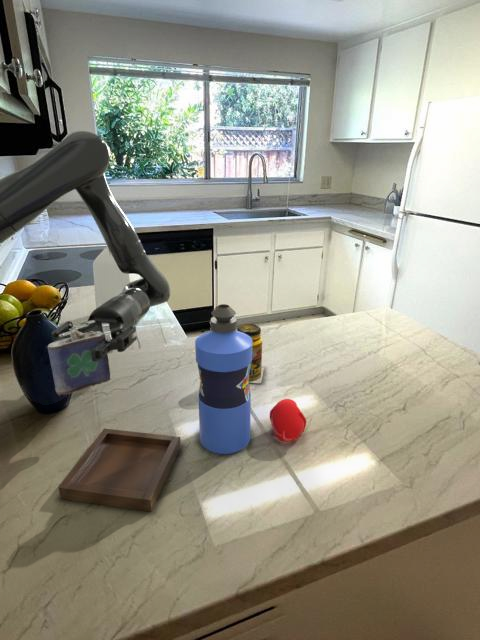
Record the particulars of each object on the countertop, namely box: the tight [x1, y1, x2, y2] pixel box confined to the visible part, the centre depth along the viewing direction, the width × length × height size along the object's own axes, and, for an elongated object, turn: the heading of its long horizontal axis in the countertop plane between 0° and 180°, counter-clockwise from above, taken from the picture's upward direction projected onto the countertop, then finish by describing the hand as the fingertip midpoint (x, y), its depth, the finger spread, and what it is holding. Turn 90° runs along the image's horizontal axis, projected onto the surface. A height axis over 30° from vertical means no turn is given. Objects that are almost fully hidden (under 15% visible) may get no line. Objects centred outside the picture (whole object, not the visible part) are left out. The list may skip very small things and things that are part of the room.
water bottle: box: [194, 304, 253, 455], centre depth 68 cm, size 9×9×25 cm
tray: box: [58, 427, 182, 513], centre depth 64 cm, size 14×14×2 cm
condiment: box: [236, 323, 265, 384], centre depth 91 cm, size 7×8×12 cm
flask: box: [47, 327, 111, 396], centre depth 68 cm, size 9×3×11 cm, turn 127°
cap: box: [269, 398, 307, 443], centre depth 72 cm, size 8×6×6 cm
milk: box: [92, 245, 142, 309], centre depth 123 cm, size 12×12×26 cm
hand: (72, 354), depth 65 cm, fingers closed on flask, 7 cm apart
